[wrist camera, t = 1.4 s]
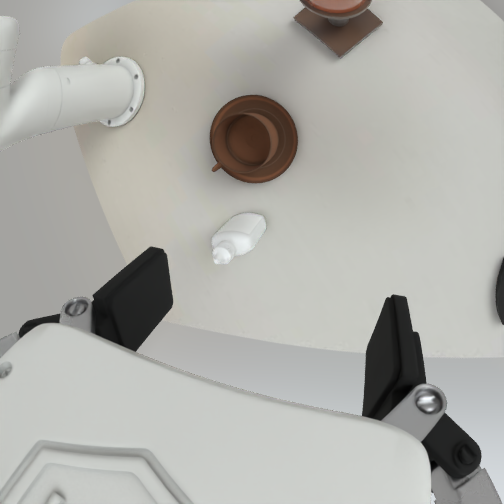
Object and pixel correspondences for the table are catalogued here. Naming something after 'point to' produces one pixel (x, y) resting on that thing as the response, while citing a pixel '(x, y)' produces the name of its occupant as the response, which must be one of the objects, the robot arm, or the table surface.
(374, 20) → the cat scratching post
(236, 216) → the eye dropper bottle
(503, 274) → the fan shaped piece
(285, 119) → the cup and saucer
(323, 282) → the table surface
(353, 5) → the terracotta cup
